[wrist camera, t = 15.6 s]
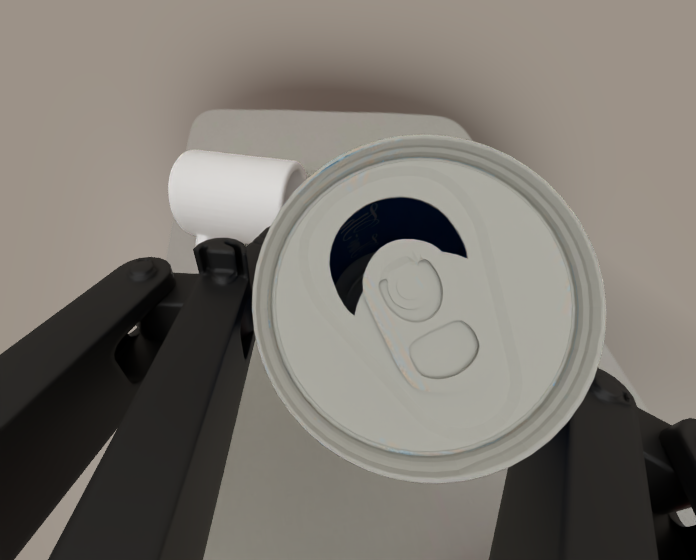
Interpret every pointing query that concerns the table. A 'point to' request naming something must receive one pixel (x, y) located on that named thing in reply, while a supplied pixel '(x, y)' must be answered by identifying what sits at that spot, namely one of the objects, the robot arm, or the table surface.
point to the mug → (230, 193)
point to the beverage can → (429, 308)
